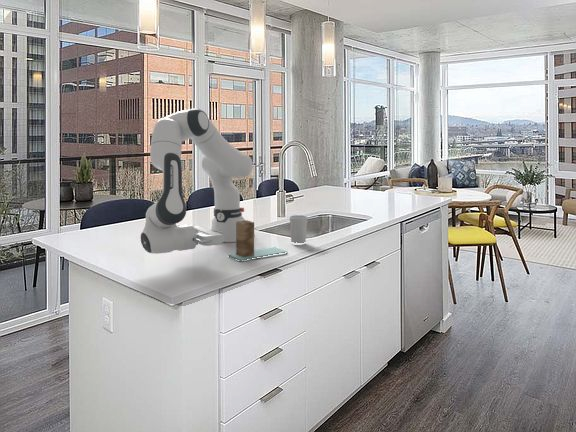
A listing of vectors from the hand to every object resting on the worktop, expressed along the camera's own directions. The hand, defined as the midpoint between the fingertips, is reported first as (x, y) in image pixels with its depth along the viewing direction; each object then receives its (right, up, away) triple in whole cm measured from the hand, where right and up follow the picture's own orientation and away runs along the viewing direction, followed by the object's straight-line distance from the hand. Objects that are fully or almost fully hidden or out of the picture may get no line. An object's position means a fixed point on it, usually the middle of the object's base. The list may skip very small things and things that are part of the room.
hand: (221, 232), depth 190 cm
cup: (+29, -6, +33) cm, 44 cm away
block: (+8, -9, +8) cm, 14 cm away
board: (+13, -9, +12) cm, 20 cm away
